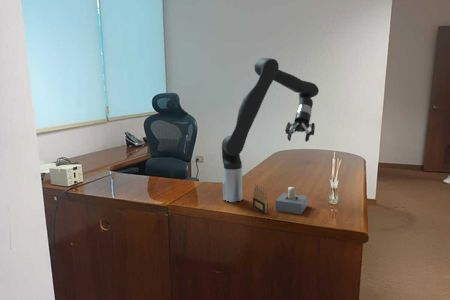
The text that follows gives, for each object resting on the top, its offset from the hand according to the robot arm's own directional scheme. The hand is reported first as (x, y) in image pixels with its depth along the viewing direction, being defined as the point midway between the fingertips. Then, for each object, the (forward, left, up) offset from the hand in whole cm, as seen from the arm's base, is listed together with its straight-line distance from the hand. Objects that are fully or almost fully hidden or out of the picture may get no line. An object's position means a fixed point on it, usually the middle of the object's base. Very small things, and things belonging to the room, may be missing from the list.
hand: (297, 140), depth 170 cm
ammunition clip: (-12, -22, -31) cm, 40 cm away
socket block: (+1, -14, -31) cm, 34 cm away
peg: (+1, -14, -31) cm, 34 cm away
